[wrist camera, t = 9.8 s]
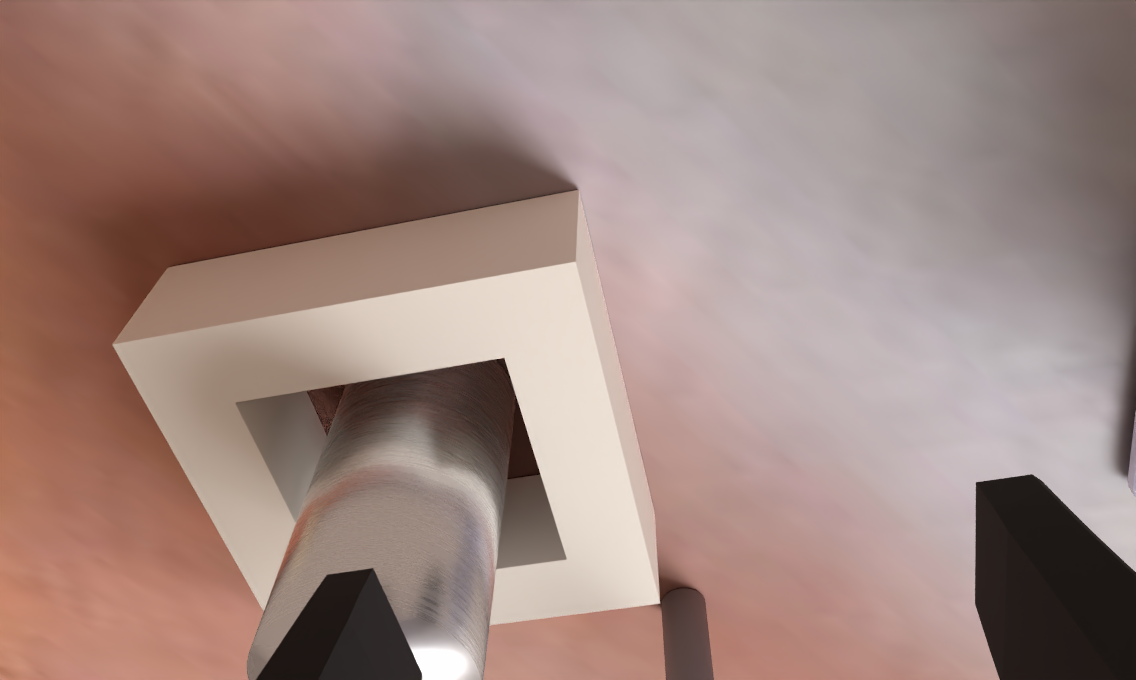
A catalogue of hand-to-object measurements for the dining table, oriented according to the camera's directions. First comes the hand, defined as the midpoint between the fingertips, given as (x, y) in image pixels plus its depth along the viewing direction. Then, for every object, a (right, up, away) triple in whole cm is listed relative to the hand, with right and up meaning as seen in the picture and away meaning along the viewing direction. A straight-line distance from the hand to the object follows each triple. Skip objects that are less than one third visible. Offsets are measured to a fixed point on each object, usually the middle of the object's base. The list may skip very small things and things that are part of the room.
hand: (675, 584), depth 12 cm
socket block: (-5, +2, +12) cm, 13 cm away
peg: (-5, +2, +12) cm, 13 cm away
